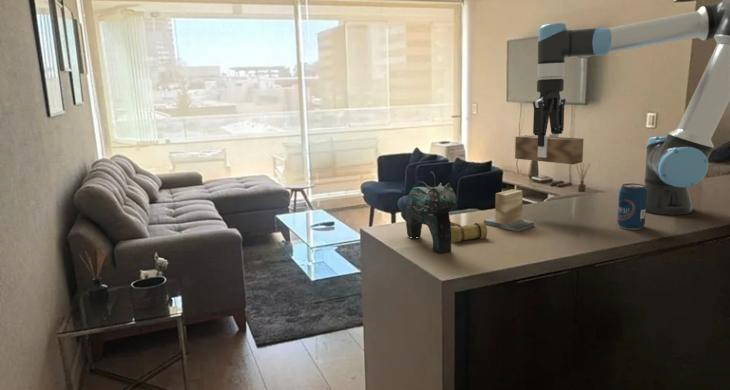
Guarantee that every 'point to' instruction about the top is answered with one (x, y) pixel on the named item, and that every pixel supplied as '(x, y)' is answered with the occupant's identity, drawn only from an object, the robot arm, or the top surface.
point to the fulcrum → (509, 212)
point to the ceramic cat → (431, 213)
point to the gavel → (467, 231)
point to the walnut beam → (550, 149)
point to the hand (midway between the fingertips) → (547, 155)
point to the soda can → (632, 206)
